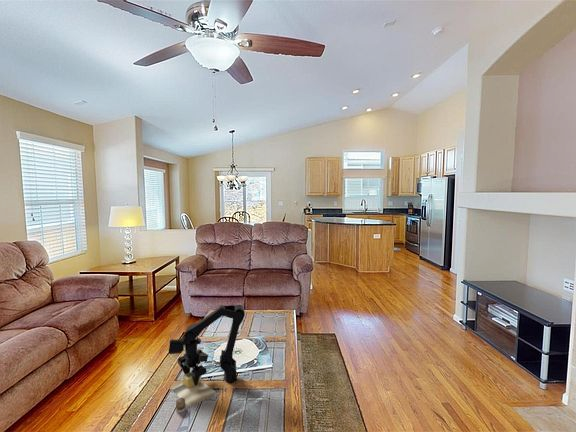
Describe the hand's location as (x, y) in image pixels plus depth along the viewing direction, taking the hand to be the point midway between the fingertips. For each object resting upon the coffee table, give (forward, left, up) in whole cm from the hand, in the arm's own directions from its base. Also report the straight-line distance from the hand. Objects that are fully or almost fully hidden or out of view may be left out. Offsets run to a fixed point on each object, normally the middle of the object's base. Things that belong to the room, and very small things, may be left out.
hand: (192, 381), depth 157 cm
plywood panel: (-5, +3, -2) cm, 6 cm away
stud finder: (0, 0, -1) cm, 1 cm away
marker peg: (-14, +13, -2) cm, 19 cm away
